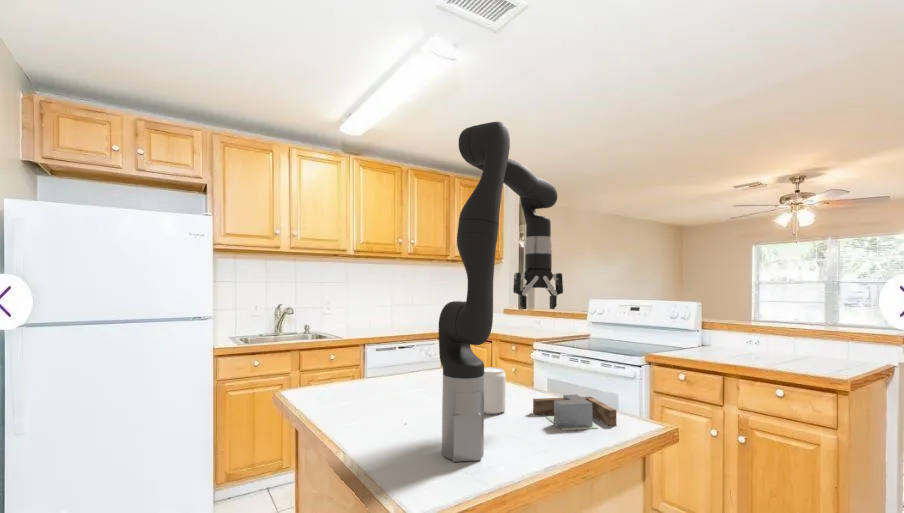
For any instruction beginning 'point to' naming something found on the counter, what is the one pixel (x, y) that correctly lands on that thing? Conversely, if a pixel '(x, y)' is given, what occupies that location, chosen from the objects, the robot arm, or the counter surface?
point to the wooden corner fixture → (598, 408)
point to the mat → (573, 427)
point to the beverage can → (494, 390)
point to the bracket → (573, 412)
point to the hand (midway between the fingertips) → (538, 309)
